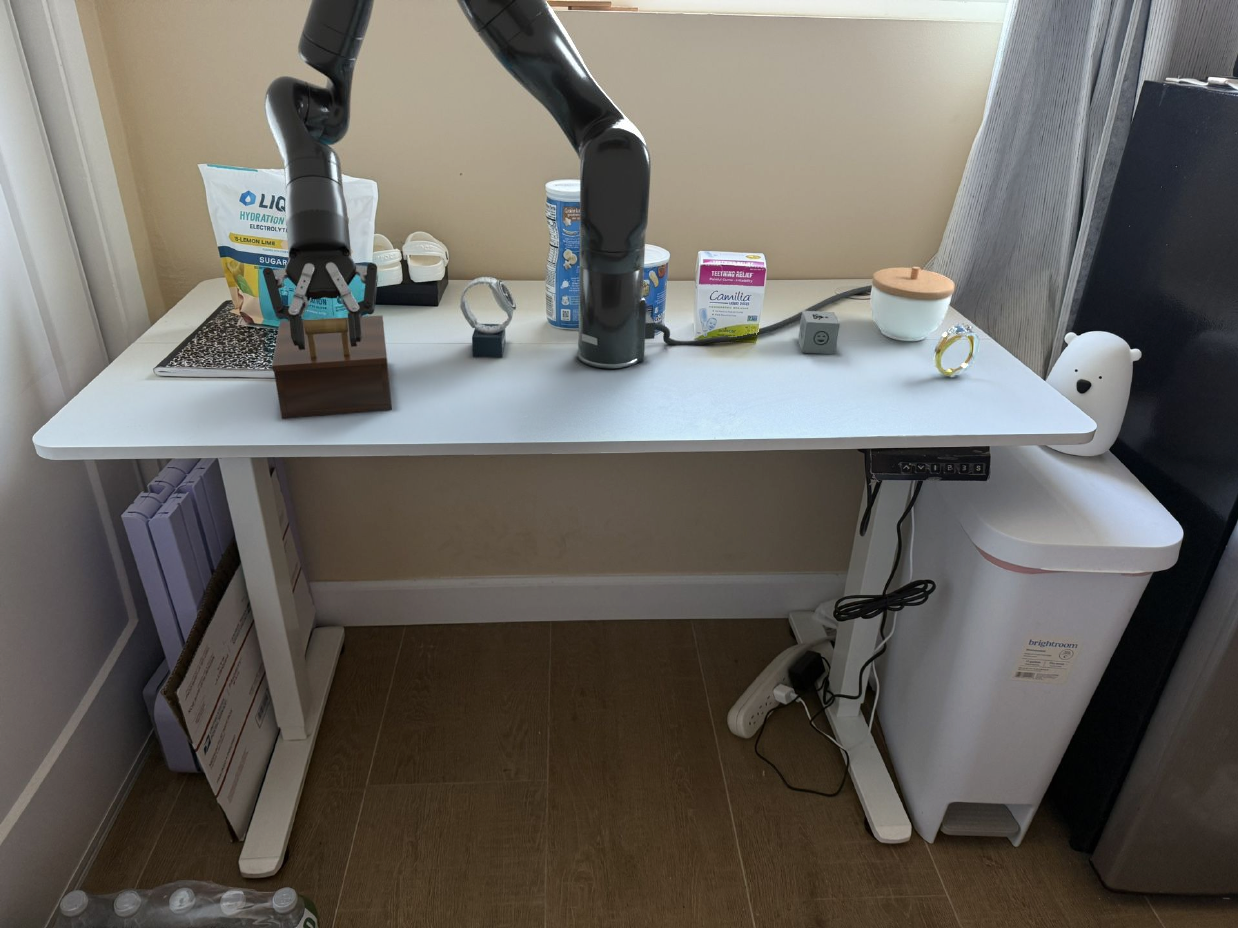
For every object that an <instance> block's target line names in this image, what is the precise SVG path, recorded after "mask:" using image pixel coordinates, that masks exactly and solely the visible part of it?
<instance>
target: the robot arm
mask: <svg viewBox="0 0 1238 928" xmlns="http://www.w3.org/2000/svg"><path fill="white" fill-rule="evenodd" d="M456 2H457V4H458V6H459V7H460V10H461V12H462V13H463V15H464V16H465V18H466V20H467V21H468V23H469V24H470V25H471V27H472V29H473V30H474V32H475V33H476V34H477V36H478V37H479V38H480V40H481V41H482V42H483V44H484V45H485V47H486V48H487V49H488V50H489V51H490V53H491V54H492V55H493V57H494V58H495V59H496V60H497V61H498V62H499V63H500V65H501V66H502V67H503V68H504V69H505V70H506V72H508V74H509V75H511V77H512V78H513V79H514V81H516V82H517V83H518V84H519V85H520V86H521V87H522V88H524V90H526V92H528V93H529V94H530V96H532V97H533V98H534V99H535V100H537V102H539V103H540V104H541V106H543V107H544V109H545V110H546V111H547V112H548V113H549V114H550V115H551V117H552V118H553V119H554V121H555V122H556V123H557V125H558V126H559V128H560V130H561V131H562V132H563V134H564V135H565V137H566V138H567V140H568V142H569V143H570V145H571V146H572V148H573V150H574V152H575V153H576V155H577V156H578V159H579V162H580V164H579V165H580V166H579V167H580V168H579V173H580V174H579V177H580V179H579V261H578V262H579V271H578V272H579V274H578V275H579V277H578V288H579V289H578V342H577V347H578V348H577V358H578V359H579V360H580V362H582V363H583V364H586V365H588V366H590V367H595V368H600V369H621V368H622V369H623V368H627V367H630V366H633V365H635V364H639V363H644V362H645V347H646V346H645V345H646V340H652V339H655V337H656V336H655V334H656V331H659V332H662V333H663V334H662V335H663V336H662V337H663V342H664V343H665V344H667V345H669V346H695V347H696V346H699V347H700V346H709V345H715V344H721V343H730V342H735V341H742V340H746V339H750V338H754V337H757V336H761V335H765V334H768V333H771V332H774V331H777V330H779V329H782V328H785V327H787V326H789V325H791V324H793V323H796V322H798V321H799V320H800V321H801V316H802V311H800V312H799V313H797V314H794V315H793V316H790V317H788V318H785V319H783V320H780V321H778V322H776V323H773V324H770V325H767V326H763V327H760V328H758V329H759V332H758V333H757V335H756V333H754V334H747V335H743V336H737V337H731V338H730V337H728V335H721V336H720V337H719V336H714V337H706V338H700V339H695V340H677V339H673V338H671V331H670V329H669V328H668V327H667V326H666V325H664V324H661V323H658V322H655V320H654V319H653V318H652V316H651V315H650V314H649V313H648V311H647V305H648V303H647V299H646V298H645V296H644V278H645V277H644V275H645V253H646V238H647V237H646V235H647V228H648V223H649V206H650V205H649V204H650V203H649V202H650V189H651V188H650V187H651V165H652V164H651V156H650V151H649V148H648V144H647V142H646V139H645V137H644V136H643V134H642V133H641V131H640V130H639V129H638V128H637V126H635V124H633V123H632V122H631V121H630V120H629V119H628V117H626V116H625V114H624V113H623V112H622V111H621V110H620V109H619V108H618V106H617V105H616V104H615V103H614V102H613V101H612V100H611V98H610V97H609V96H608V95H607V94H606V93H605V91H604V90H603V89H602V87H600V85H599V84H598V82H597V81H596V80H595V79H594V77H593V76H592V74H591V73H590V71H589V70H588V68H587V66H586V64H585V62H584V61H583V58H582V56H581V55H580V53H579V51H578V50H577V48H576V46H575V44H574V43H573V40H572V38H571V37H570V36H569V34H568V32H567V30H566V29H565V27H564V26H563V24H562V23H561V21H560V20H559V17H558V16H557V15H556V13H555V11H554V10H553V8H552V7H551V6H550V4H549V3H548V1H547V0H456ZM374 3H375V0H311V2H310V5H309V8H308V11H307V15H306V18H305V21H304V25H303V28H302V31H301V34H300V38H299V41H298V46H297V52H298V55H299V57H300V59H301V60H302V61H303V62H304V63H305V64H306V65H308V66H309V67H310V68H312V69H313V70H315V71H316V72H318V73H320V74H321V75H323V76H324V77H326V79H327V81H326V85H325V87H323V86H321V85H318V84H314V83H311V82H308V81H305V80H302V79H299V78H296V77H293V76H287V75H283V76H282V75H281V76H279V77H277V78H275V79H274V80H272V81H271V83H270V84H269V85H268V87H267V89H266V91H265V95H264V113H265V118H266V122H267V124H268V127H269V130H270V132H271V135H272V137H273V139H274V142H275V144H276V148H277V150H278V153H279V156H280V159H281V160H282V164H283V171H284V184H285V199H284V212H285V214H284V215H285V225H286V239H287V251H288V252H287V253H288V260H287V263H286V264H285V267H283V268H278V269H272V268H271V267H265V268H263V270H262V275H263V278H264V282H265V285H266V289H267V292H268V296H269V299H270V302H271V306H272V307H271V308H272V309H273V312H274V314H275V317H276V319H278V320H283V319H284V320H286V321H290V331H291V339H292V342H293V344H294V346H298V348H299V350H305V339H304V326H303V321H302V320H303V318H304V317H303V316H304V315H305V312H306V310H307V309H308V307H309V305H310V303H311V300H320V299H325V298H326V299H339V301H340V303H341V304H342V306H343V307H344V309H345V310H346V311H347V317H348V324H349V335H350V343H351V347H355V346H357V342H361V339H362V333H361V323H360V319H361V317H362V316H366V315H373V314H374V313H375V311H376V310H375V309H376V299H377V292H378V291H377V290H378V282H379V281H378V279H379V271H378V266H377V264H376V263H375V262H370V263H368V264H367V265H363V264H362V265H361V264H356V262H355V261H354V259H353V257H352V250H351V248H352V247H351V239H350V238H351V237H350V229H349V224H350V223H349V221H350V218H349V216H348V208H347V203H346V198H345V195H344V186H343V185H344V184H343V175H342V165H341V160H340V157H339V154H338V153H337V151H336V150H334V149H333V148H332V147H331V146H335V145H337V144H338V143H340V142H341V141H342V140H343V139H344V138H345V137H346V135H347V134H348V131H349V129H350V122H351V105H352V103H351V100H352V89H353V81H354V80H353V79H354V72H355V67H356V63H357V60H358V57H359V55H360V51H361V48H362V45H363V43H364V40H365V37H366V33H367V32H368V27H369V25H370V22H371V21H370V20H371V17H372V14H373V13H372V12H373V8H374ZM356 276H358V277H359V278H360V282H361V283H362V284H364V291H363V292H364V293H363V300H361V301H358V302H357V300H356V298H355V297H354V295H353V293H352V290H351V289H350V287H349V286H350V284H351V283H352V282H353V280H354V278H355V277H356ZM286 279H288V280H289V281H290V282H291V283H292V284H293V285H294V286H295V289H294V292H293V297H292V300H291V303H290V304H289V305H287V304H284V303H283V299H282V296H281V292H280V289H281V288H284V286H285V283H284V282H285V280H286ZM871 290H872V284H870V285H866V286H861V287H856V288H852V289H849V290H846V291H843V292H840V293H837V294H835V295H832V296H830V297H828V298H825V299H824V300H821V301H819V302H818V303H816V304H813V305H812V306H809V307H808V308H806V309H804V310H803V311H819V310H820V309H823V308H824V307H826V306H828V305H830V304H832V303H835V302H837V301H840V300H842V299H843V300H844V299H845V298H848V297H851V296H854V295H857V294H862V293H867V292H871Z"/></svg>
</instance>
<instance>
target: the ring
mask: <svg viewBox="0 0 1238 928" xmlns="http://www.w3.org/2000/svg"><path fill="white" fill-rule="evenodd" d="M959 324H960V323H959V322H956V324H955V325H952V326H950V327H949V328H948V329H946V330H945V332H944V333H943V334H942V335H941V336H940V338H939V340H938V341H937V344H936V346H935V348H934V351H933V354H932V355H933V356H932V359H933V364H934V367H935V369H936V370H937V371H938V372H939V373H940V374H942V375H943V376H947V377H949V378H955V377H956V376H959V375H960V374H963V373H964V372H965V371H967V370H968V369H969V368H970V367H971V366H972V365H973V364H974V362H975V361H976V359H977V357H978V355H979V351H980V338H979V335H978V334H977V333H975V332H973V331H972V330H973V329H974V326H973V325H969V324H965V323H961V325H959ZM951 335H953V336H951ZM950 336H951V337H950ZM949 337H950V338H949ZM963 337H965V338H966V339H967V340H968V344H969V353H968V356H967V358H966V359H965V361H964V362H963V363H962V364H961V365H960V366H959V367H957V368H950V367H949V368H947V369H944V367H943V366H942V358H943V355H944V353H945V352H946V351H947V349H948V348H949V347H951V346H952V345H953V344H955V342H957V341H959V340H960V339H961V338H963ZM948 338H949V339H948Z"/></svg>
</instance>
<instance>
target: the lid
mask: <svg viewBox="0 0 1238 928" xmlns="http://www.w3.org/2000/svg"><path fill="white" fill-rule="evenodd" d="M383 316H384V315H381V314H379V315H363V316H362V317H361V319H360V323H361V333H362V339H361V342H357V346H355V347H351V343H350V335H349V324H348V316H346V317H329V318H314V319H313V318H312V319H302V321H303V326H304V339H305V350H299V348H298V346H294V344H293V342H292V339H291V331H290V321H289V320H280V321H279V323H278V330H277V335H276V341H275V347H274V353H273V358H272V364H271V368H272V369H271V370H272V372H273V373H274V371H288V370H302V369H317V368H331V367H345V366H359V365H373V364H387V363H388V356H387V357H386V354H387V345H386V346H385V344H386V336H384V334H385V327H384V326H385V325H384V317H383Z"/></svg>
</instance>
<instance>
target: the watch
mask: <svg viewBox="0 0 1238 928" xmlns="http://www.w3.org/2000/svg"><path fill="white" fill-rule="evenodd" d="M478 285H488V288H489V289H490V290H491V293H492V295H493V298H494V300H495V302H496V303H497V305H498V307H500V308H499V309H501V310H502V311H503V312H504V313H506V314H507V319H506V320H504V322H502V323H480V322H479V321H478V318H477V317H476V315H474V313H473V311H472V310H471V308H470V306H469V303H468V302H467V297H466V294H467V292H468V291H469V289H471V288H473V287H474V286H478ZM459 308H460V310H461V313H462V315H463V317H464V319H465V320H466V322H467V323H468V325H469V326H470V327H471V328H472V329H473V333H472V336H471V347H472V348H471V349H472V357H473V358H503V356H504V351H505V348H506V345H507V343H506V340H507V339H506V329H507V327H508V326H509V325H510V324H511V322H512V319H513V315H514V311H516V309H517V305H516V301H515V298H514V297H513V294H512V293H511V290H510V289H509V288H508V286H507V284H506V283H505V282H503V280H502V279H496V278H495V277H491V276H480V277H477V278H475V279H472V280H470V281H469V283H467V284H466V285H465V287H464V289H463V291H462V293H461V297H460V305H459Z"/></svg>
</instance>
